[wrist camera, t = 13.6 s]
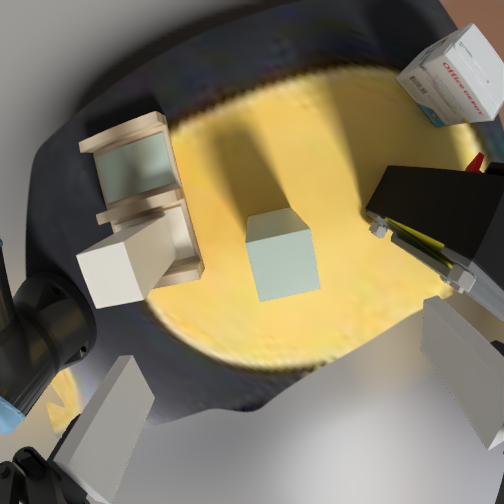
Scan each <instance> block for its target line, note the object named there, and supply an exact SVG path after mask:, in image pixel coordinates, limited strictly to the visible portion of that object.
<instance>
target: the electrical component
mask: <svg viewBox="0 0 504 504" xmlns="http://www.w3.org/2000/svg"><path fill="white" fill-rule="evenodd" d="M483 158H484V155H483V154H482V153H480V152H479V153H478V155H477V156H476V157H475V158H474V159H473V161H472V162H471V163H470V164H469V165H468V166H467V168H466V170H465V171H457V170H447V169H436V168H422V167H407V166H388V167H387V169H386V171H385V173H384V175H383V177H382V179H381V181H380V183H379V184H378V186H377V188H376V190H375V192H374V194H373V196H372V198H371V199H370V201H369V203H368V205H367V207H366V209H368V210H367V212H366V215H368V216H369V217H371V218H373V219H374V220H375V221H374V222H373V223H372V224H371V226H370V228H369V230H370V231H371V233H372V234H374V235H375V236H377V237H379V238H380V237H381V238H383V237H384V236H385V234H386V232H387V229H389V230H391V231H392V232H394V233H393V234H392V236H391V242H393V243H394V244H396V245H397V246H399V247H400V248H402V249H403V250H405V251H406V252H408V253H409V254H411V255H412V256H414V257H415V258H417V259H418V260H420V261H421V262H422V263H424V264H425V265H427V266H428V267H430V268H431V269H432V270H434V271H435V272H437V273H438V274H439V275H440V278H441V280H442V281H444V282H445V283H446V284H450V286H452V287H453V288H454V289H456V290H457V291H459V292H460V293H461V294H462V292H465V293H466V294H467V295H469V296H470V297H471V298H473V299H474V300H475V301H477V302H478V303H480V304H481V305H482V306H483V307H485V308H486V309H487V310H489V311H490V312H491V313H493V314H494V315H495V316H496V317H498V318H499V319H500V320H501V321H503V322H504V163H496V162H491V163H490V164H489V166H488V167H487V169H486V170H485V172H484V173H482V172H481V171H480V170H479V169H480V167H481V164H482V161H483Z"/></svg>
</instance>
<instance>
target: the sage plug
mask: <svg viewBox="0 0 504 504" xmlns="http://www.w3.org/2000/svg"><path fill="white" fill-rule="evenodd" d="M245 244H246V248H247V252H248V256H249V260H250V264H251V268H252V272H253V276H254V280H255V284H256V288H257V292H258V296H259V300H260V302H263V301H268V300H272V299H277V298H282V297H286V296H291V295H295V294H299V293H304V292H308V291H312V290H317V289H321V288H320V282H319V275H318V269H317V263H316V257H315V252H314V246H313V241H312V235H311V230H310V228H309V227H308V226H307V224H306V223H305V222H304V221H303V220H302V219H301V218H300V217H299V215H298V214H297V213H296V212H295V211H294V210H293V209H292V208H291V207H288V208H284V209H279V210H275V211H270V212H266V213H261V214H257V215H252V216H248V221H247V231H246V241H245Z"/></svg>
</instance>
